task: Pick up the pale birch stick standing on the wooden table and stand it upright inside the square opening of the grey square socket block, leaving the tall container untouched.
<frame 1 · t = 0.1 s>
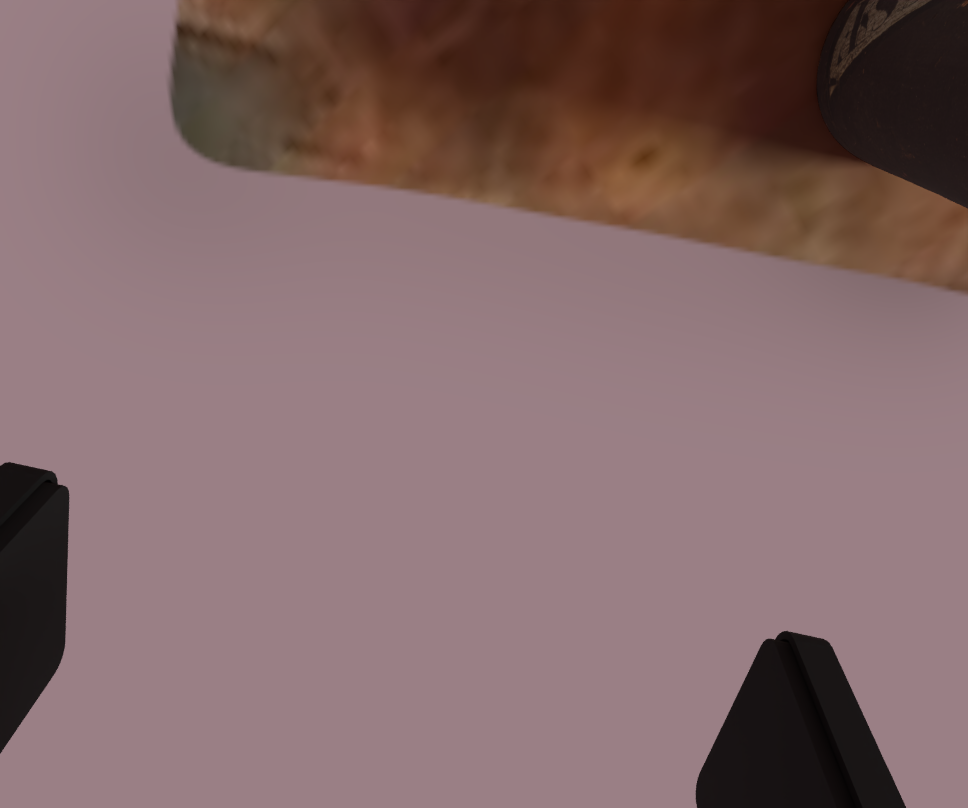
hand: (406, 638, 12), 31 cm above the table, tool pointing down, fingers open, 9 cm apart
container: (912, 63, 37), on the table
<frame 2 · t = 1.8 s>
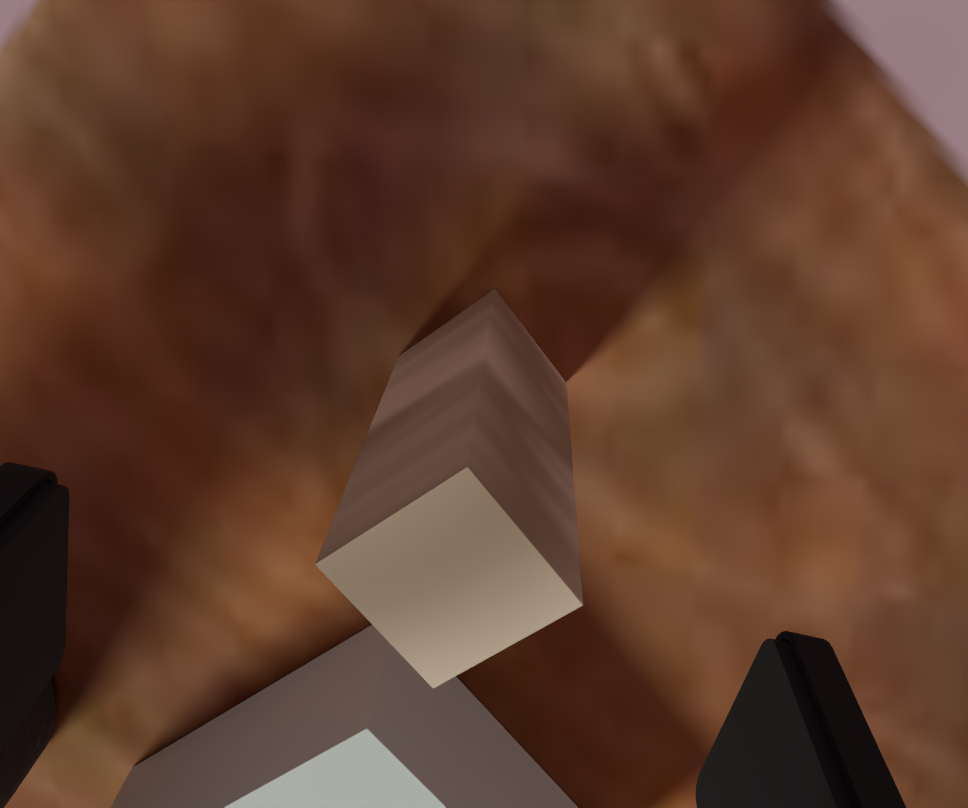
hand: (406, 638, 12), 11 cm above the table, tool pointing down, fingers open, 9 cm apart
birch stick: (482, 369, 22), on the table
grey square socket block: (370, 803, 28), on the table
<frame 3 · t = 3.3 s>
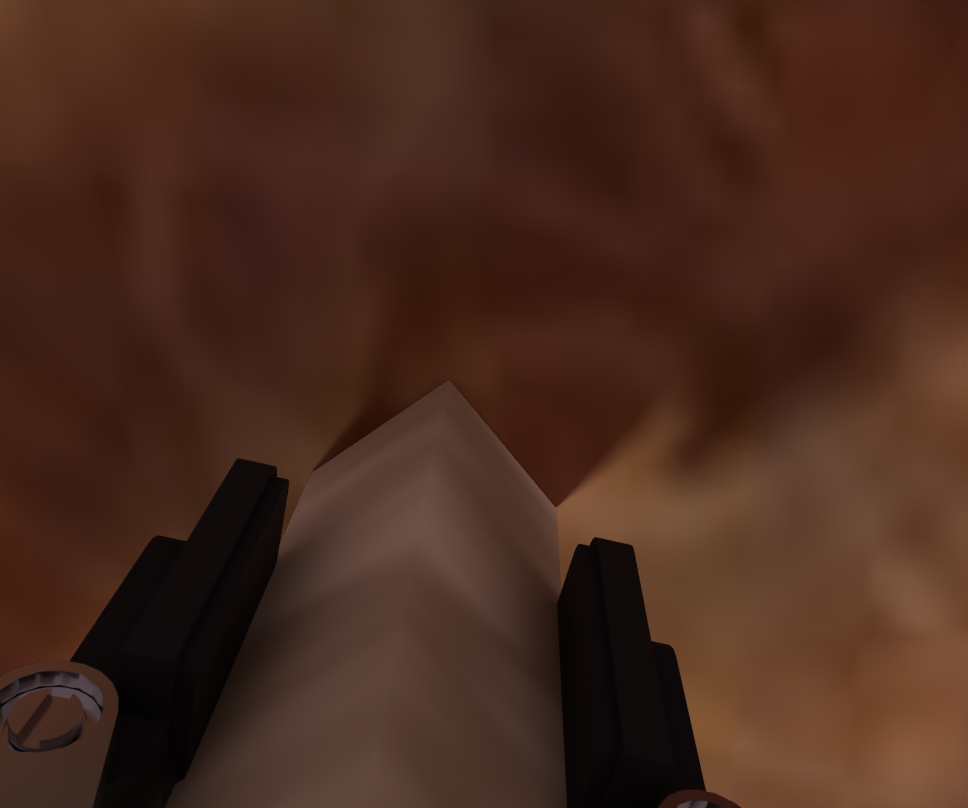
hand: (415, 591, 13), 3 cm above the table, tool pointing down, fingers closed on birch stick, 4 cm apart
birch stick: (434, 490, 15), on the table, touching gripper
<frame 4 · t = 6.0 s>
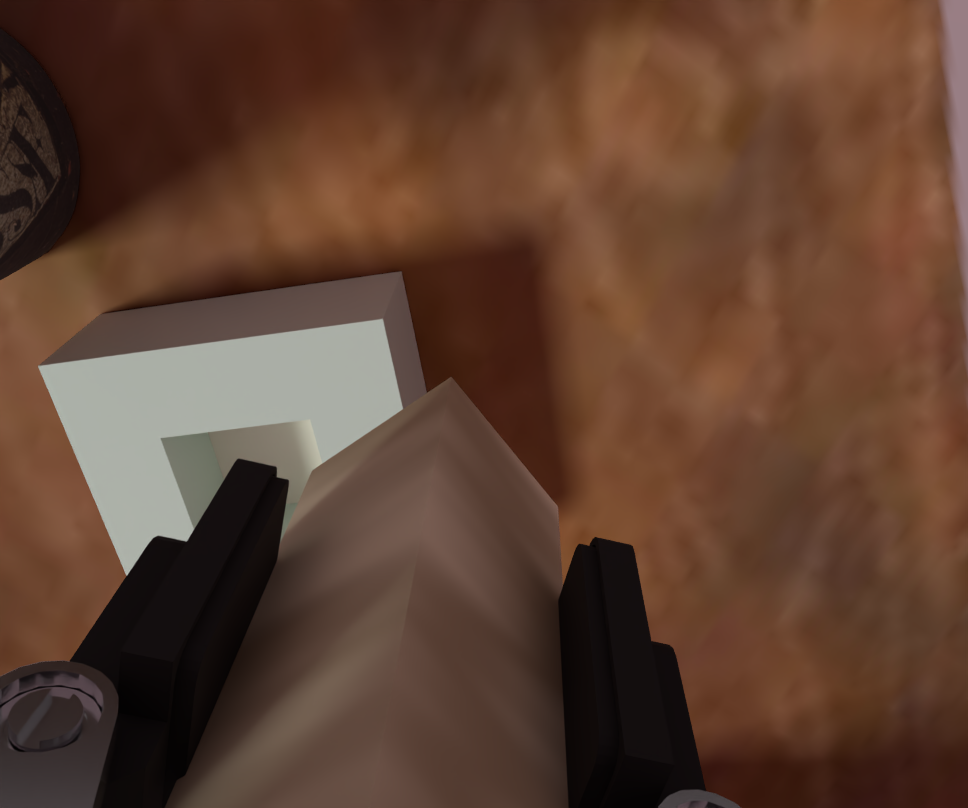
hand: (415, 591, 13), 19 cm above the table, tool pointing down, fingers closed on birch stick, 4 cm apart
birch stick: (435, 488, 15), point 16 cm above the table, touching gripper
grey square socket block: (288, 429, 33), on the table
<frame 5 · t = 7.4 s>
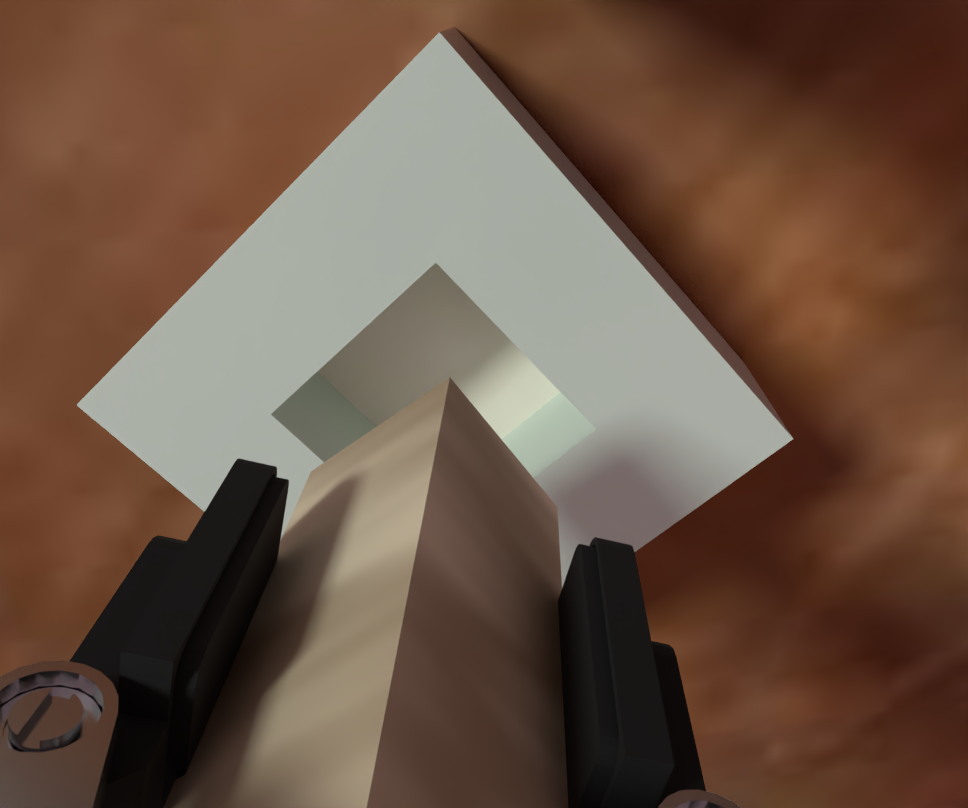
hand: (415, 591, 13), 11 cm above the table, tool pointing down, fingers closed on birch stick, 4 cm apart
birch stick: (434, 489, 15), point 9 cm above the table, touching gripper
grey square socket block: (447, 348, 23), on the table
when the fingers open (5 cm above the table, at t = 8.7 s): birch stick drops 1 cm, resting on grey square socket block.
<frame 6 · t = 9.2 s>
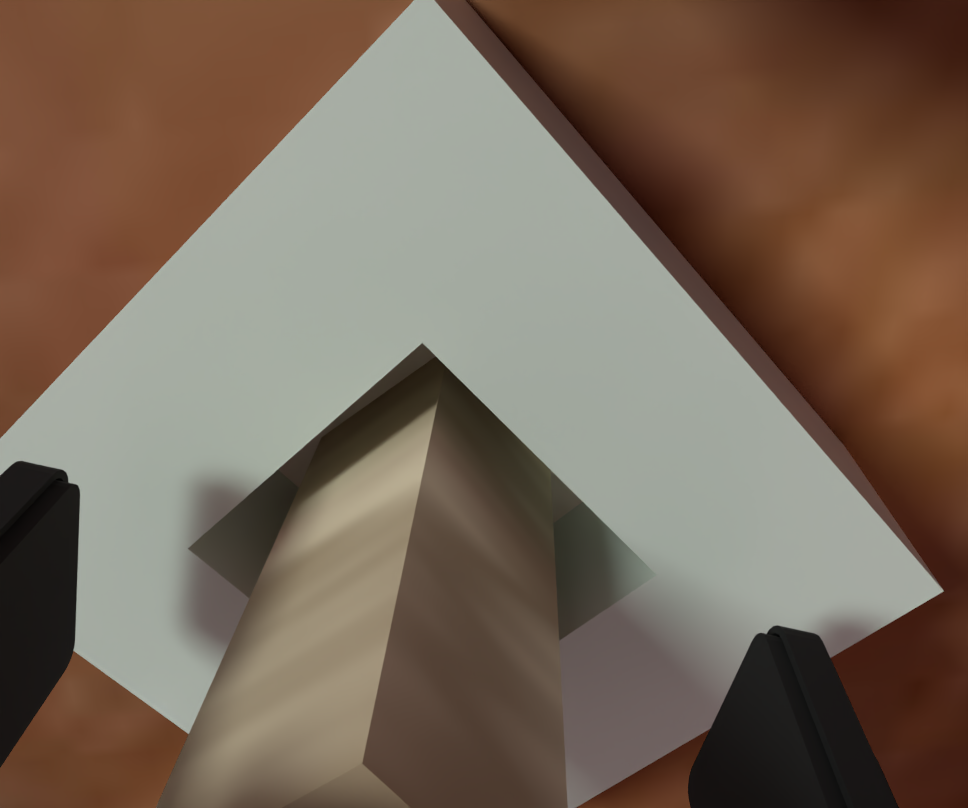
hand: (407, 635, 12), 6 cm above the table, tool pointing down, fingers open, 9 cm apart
birch stick: (436, 452, 16), point 1 cm above the table, touching grey square socket block
grey square socket block: (445, 425, 17), on the table
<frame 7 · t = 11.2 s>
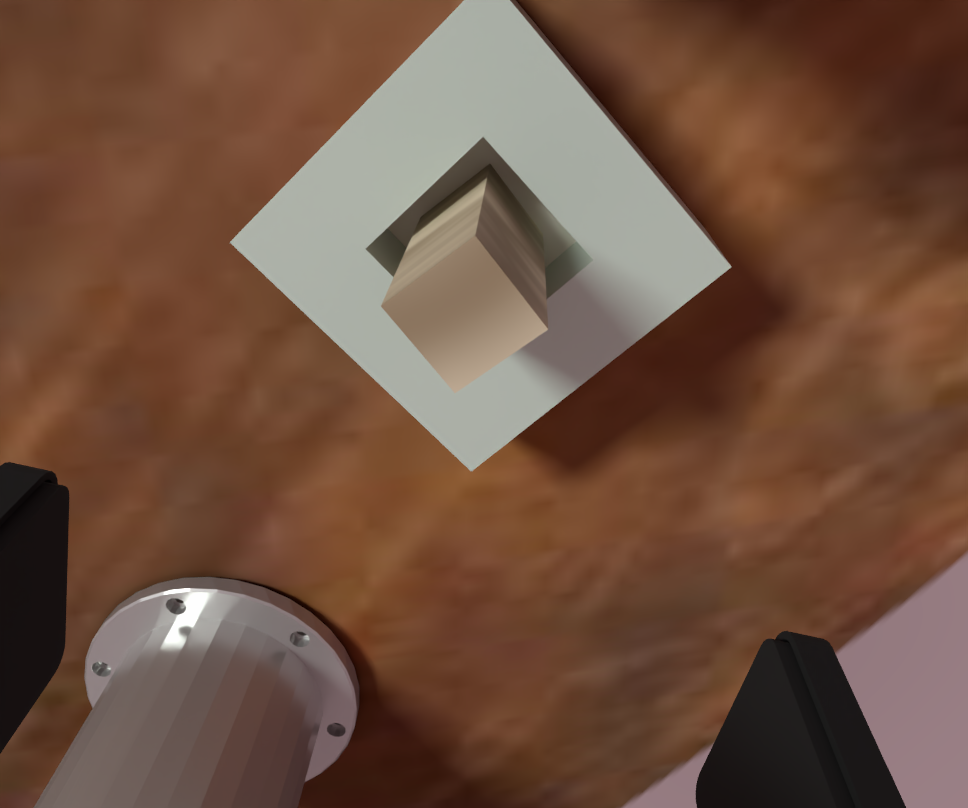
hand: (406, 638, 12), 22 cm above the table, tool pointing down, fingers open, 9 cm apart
birch stick: (481, 225, 30), point 1 cm above the table, touching grey square socket block
grey square socket block: (485, 218, 31), on the table
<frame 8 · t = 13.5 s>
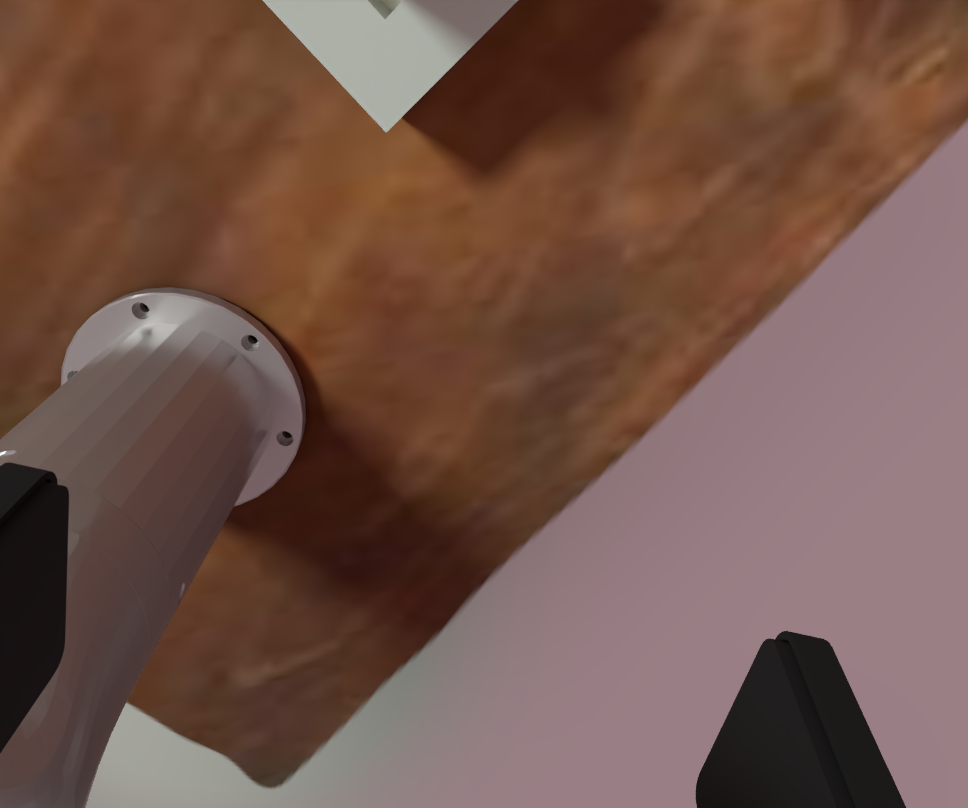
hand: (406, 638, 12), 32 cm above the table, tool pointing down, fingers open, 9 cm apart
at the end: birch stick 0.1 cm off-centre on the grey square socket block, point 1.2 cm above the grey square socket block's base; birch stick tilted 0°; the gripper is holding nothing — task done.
